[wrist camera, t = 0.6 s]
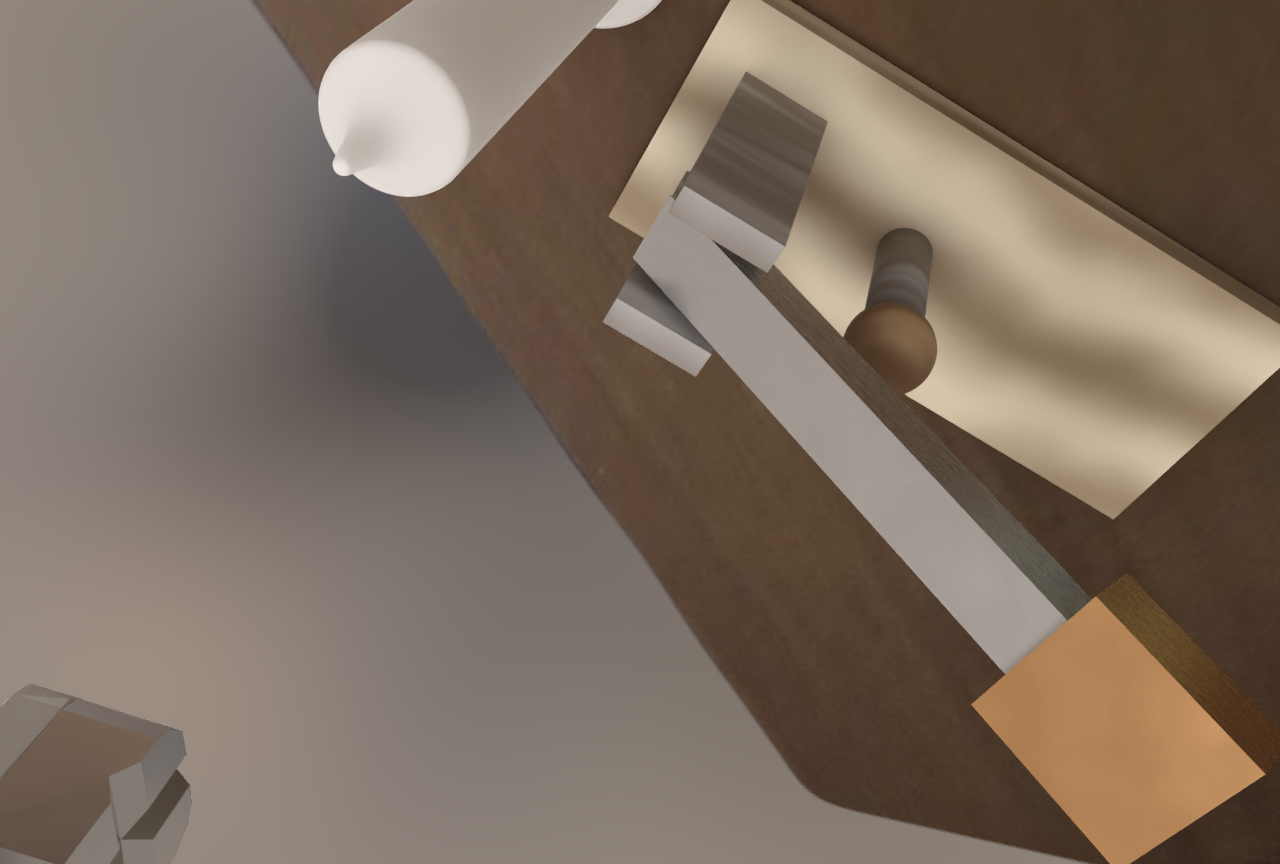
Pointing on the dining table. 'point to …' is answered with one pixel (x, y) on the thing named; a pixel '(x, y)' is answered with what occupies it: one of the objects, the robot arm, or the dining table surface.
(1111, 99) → the dining table surface
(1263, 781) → the dining table surface
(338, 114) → the candle
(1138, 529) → the dining table surface
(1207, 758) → the press lever
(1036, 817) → the dining table surface
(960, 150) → the press base
